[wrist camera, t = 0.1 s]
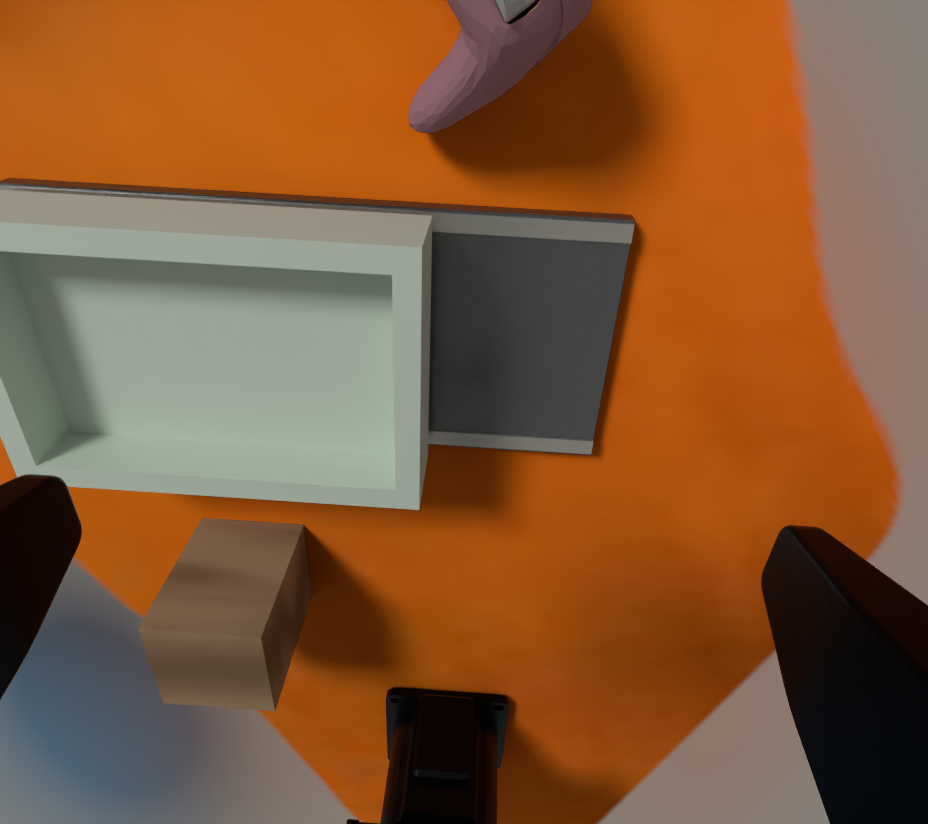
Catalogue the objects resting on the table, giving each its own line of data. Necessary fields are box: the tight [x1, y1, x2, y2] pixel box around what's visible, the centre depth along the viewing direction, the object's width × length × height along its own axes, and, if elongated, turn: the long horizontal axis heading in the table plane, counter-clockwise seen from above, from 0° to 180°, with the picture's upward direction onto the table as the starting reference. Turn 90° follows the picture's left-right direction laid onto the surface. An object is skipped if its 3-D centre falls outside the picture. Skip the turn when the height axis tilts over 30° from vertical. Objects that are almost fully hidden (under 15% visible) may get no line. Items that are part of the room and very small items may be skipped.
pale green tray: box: [0, 190, 432, 510], centre depth 21 cm, size 9×14×4 cm, turn 87°
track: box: [0, 178, 635, 455], centre depth 22 cm, size 9×20×1 cm, turn 87°
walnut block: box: [138, 518, 312, 711], centre depth 27 cm, size 4×4×6 cm
